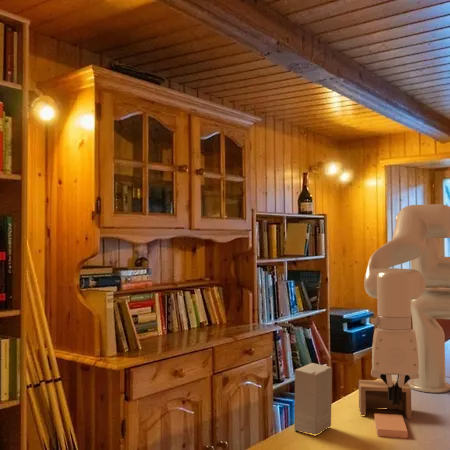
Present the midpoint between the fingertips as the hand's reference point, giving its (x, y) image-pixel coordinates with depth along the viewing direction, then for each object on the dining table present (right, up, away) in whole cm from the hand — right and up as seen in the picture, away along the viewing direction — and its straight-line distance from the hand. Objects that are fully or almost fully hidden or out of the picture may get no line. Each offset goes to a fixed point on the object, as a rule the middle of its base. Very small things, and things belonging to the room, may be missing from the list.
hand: (395, 403), depth 127 cm
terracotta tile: (+2, -11, +11) cm, 15 cm away
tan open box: (+4, -10, +23) cm, 26 cm away
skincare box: (-17, -10, +10) cm, 23 cm away
